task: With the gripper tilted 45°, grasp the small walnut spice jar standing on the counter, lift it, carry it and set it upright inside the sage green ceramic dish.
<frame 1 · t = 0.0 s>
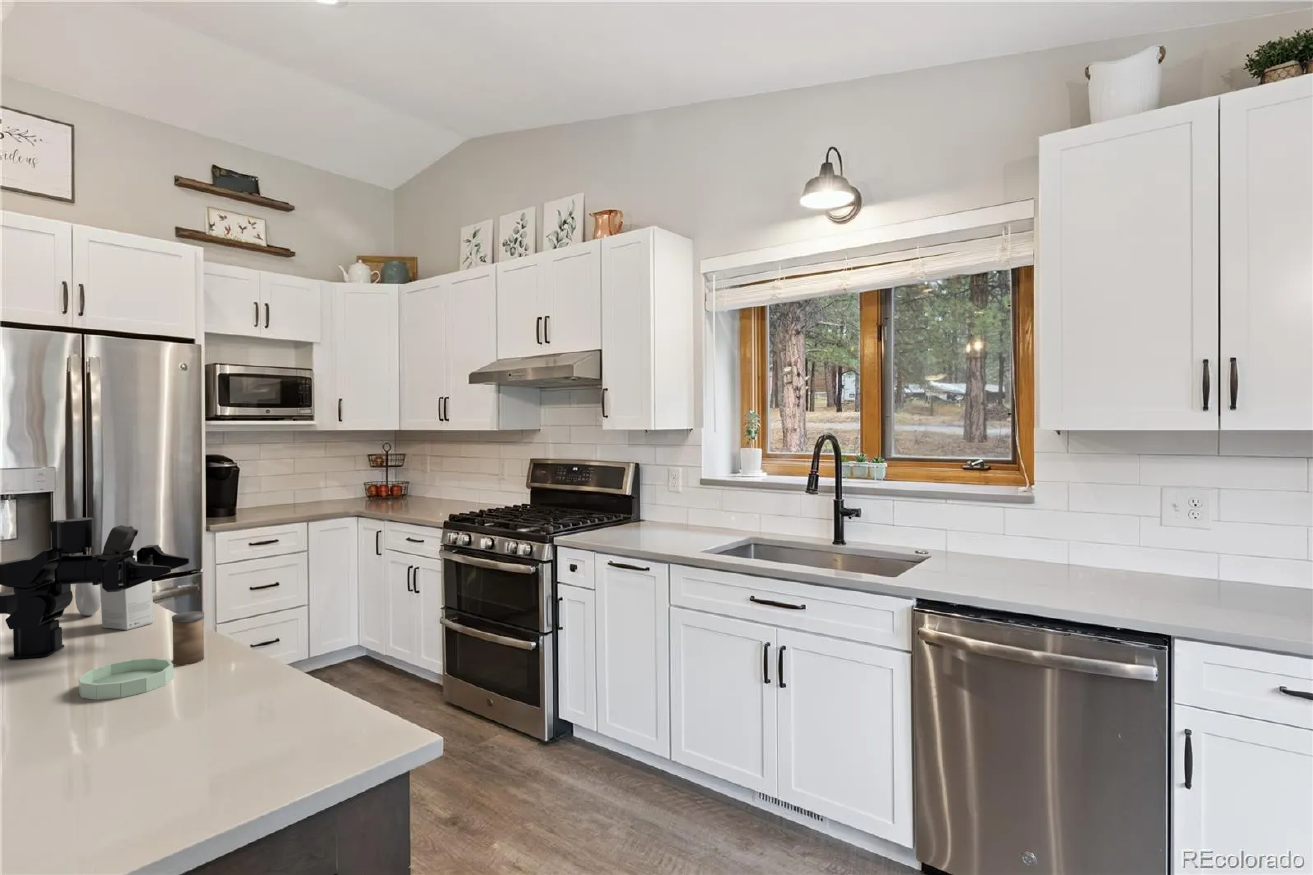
hand: (180, 565, 146), 17 cm above the counter, tool horizontal, fingers open, 9 cm apart
skincare box: (126, 626, 160), on the counter
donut: (88, 616, 168), on the counter
sage green dish: (127, 684, 124), on the counter
walnut spice jar: (188, 660, 136), on the counter
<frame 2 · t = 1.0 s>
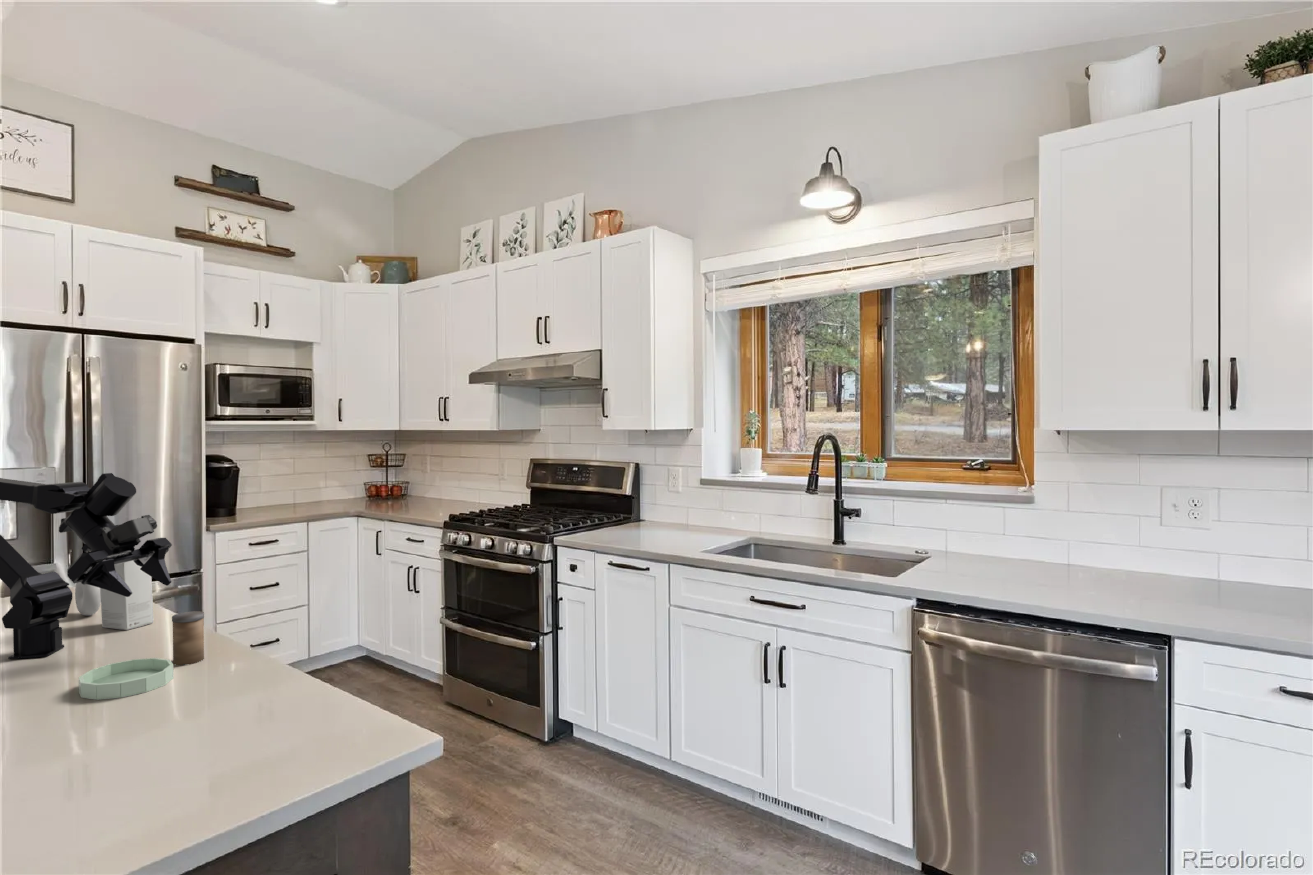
hand: (150, 589, 137), 14 cm above the counter, tool tilted 45°, fingers open, 9 cm apart
nothing on the counter moved.
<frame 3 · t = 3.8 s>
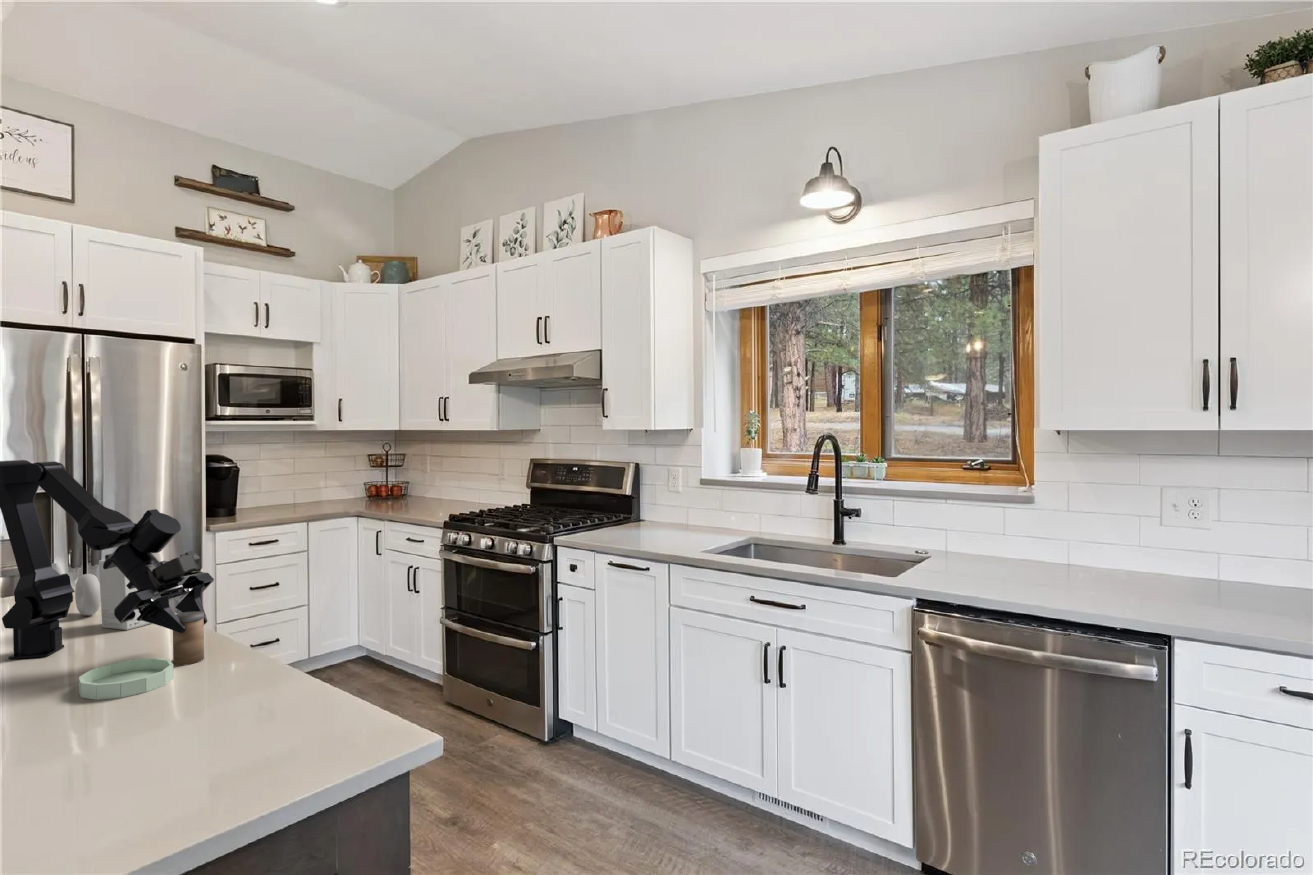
hand: (194, 627, 136), 7 cm above the counter, tool tilted 45°, fingers closed on walnut spice jar, 5 cm apart
walnut spice jar: (188, 660, 136), on the counter, touching gripper
everything else where it was.
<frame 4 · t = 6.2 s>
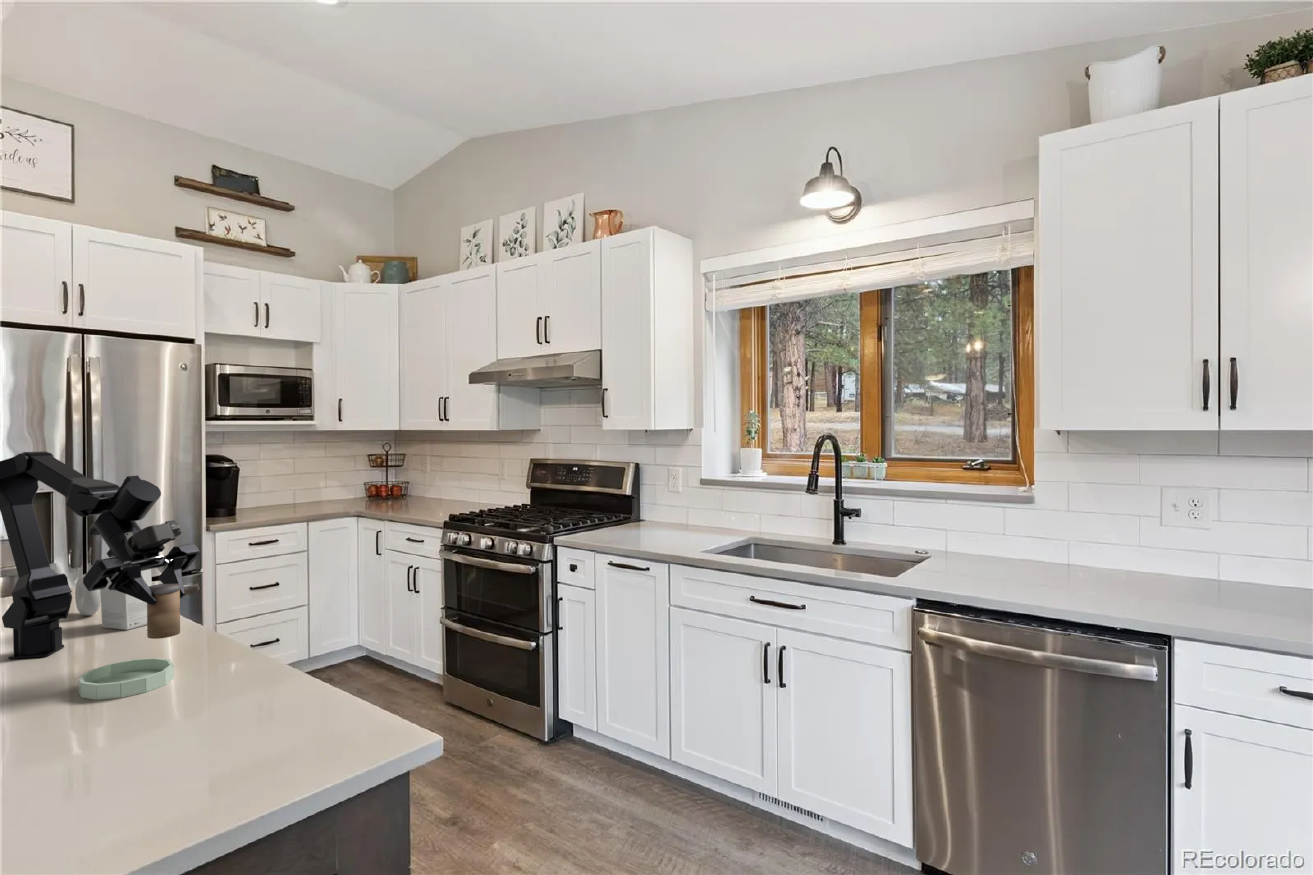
hand: (169, 599, 130), 14 cm above the counter, tool tilted 45°, fingers closed on walnut spice jar, 5 cm apart
walnut spice jar: (163, 634, 130), point 7 cm above the counter, touching gripper
everything else where it was.
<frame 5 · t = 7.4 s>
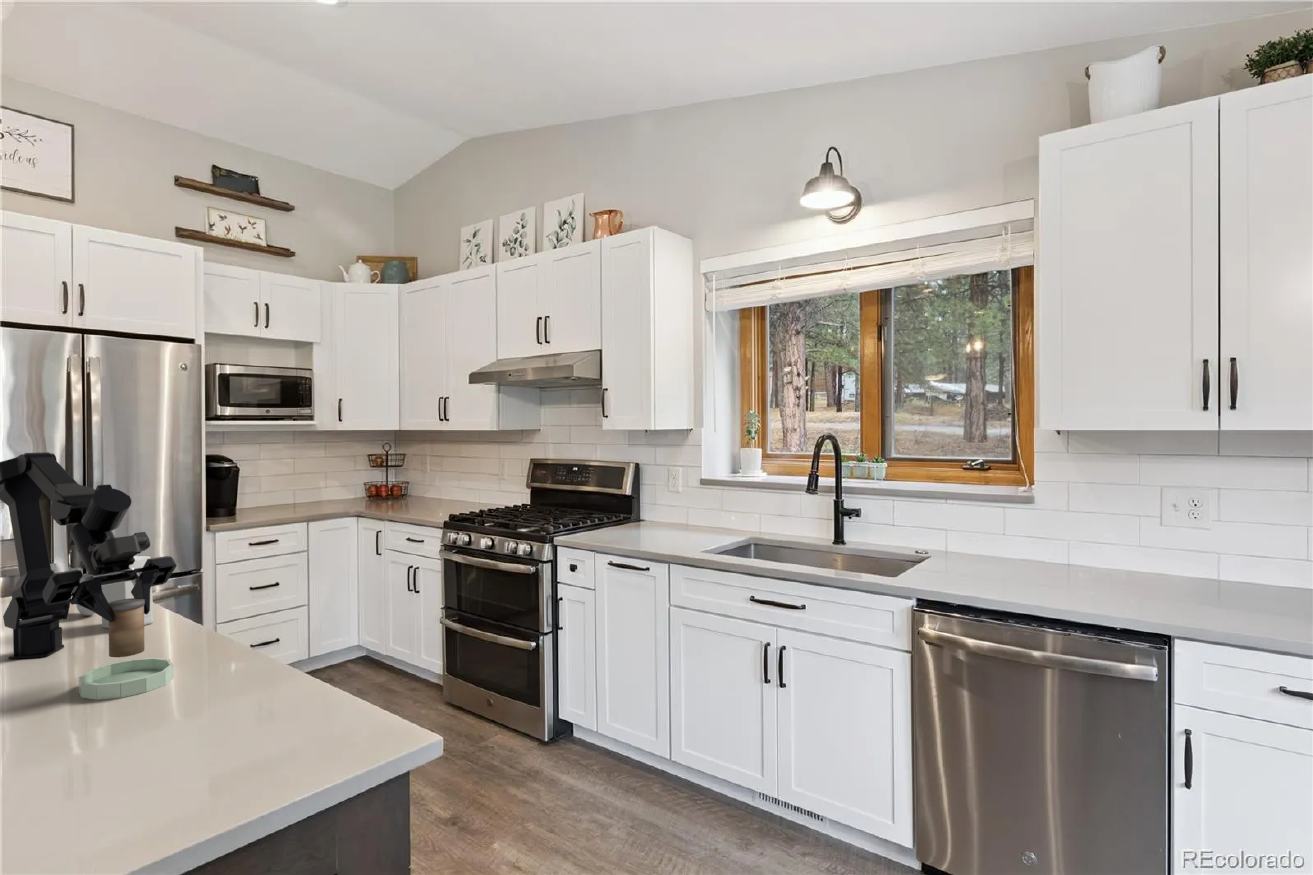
hand: (130, 616, 123), 12 cm above the counter, tool tilted 45°, fingers closed on walnut spice jar, 5 cm apart
walnut spice jar: (126, 652, 124), point 6 cm above the counter, touching gripper
everything else where it was.
when the fingers open (8 cm above the counter, at t = 8.6 s): walnut spice jar drops 1 cm, resting on sage green dish.
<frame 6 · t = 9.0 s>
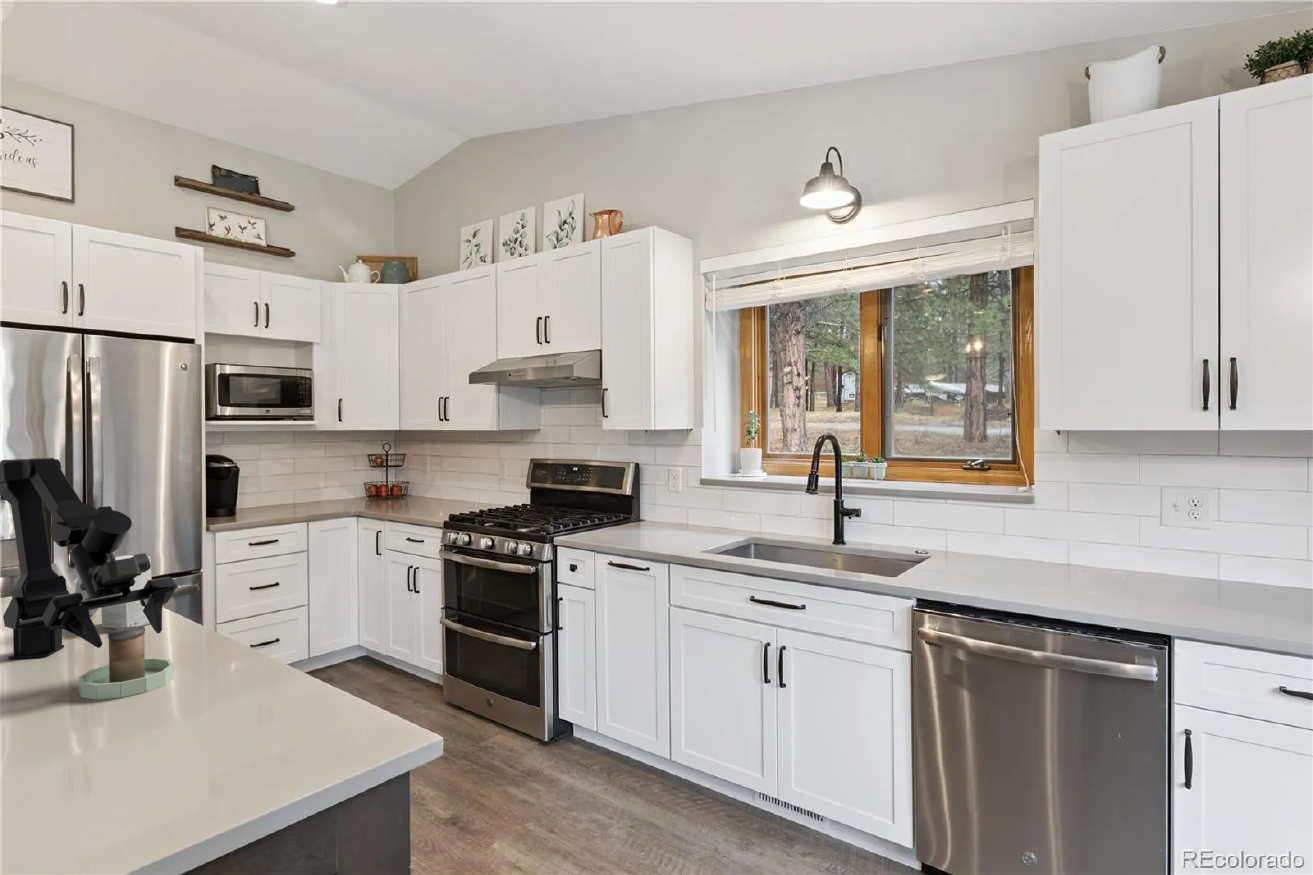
hand: (131, 638, 123), 8 cm above the counter, tool tilted 45°, fingers open, 9 cm apart
walnut spice jar: (127, 681, 124), point 1 cm above the counter, touching sage green dish
everything else where it was.
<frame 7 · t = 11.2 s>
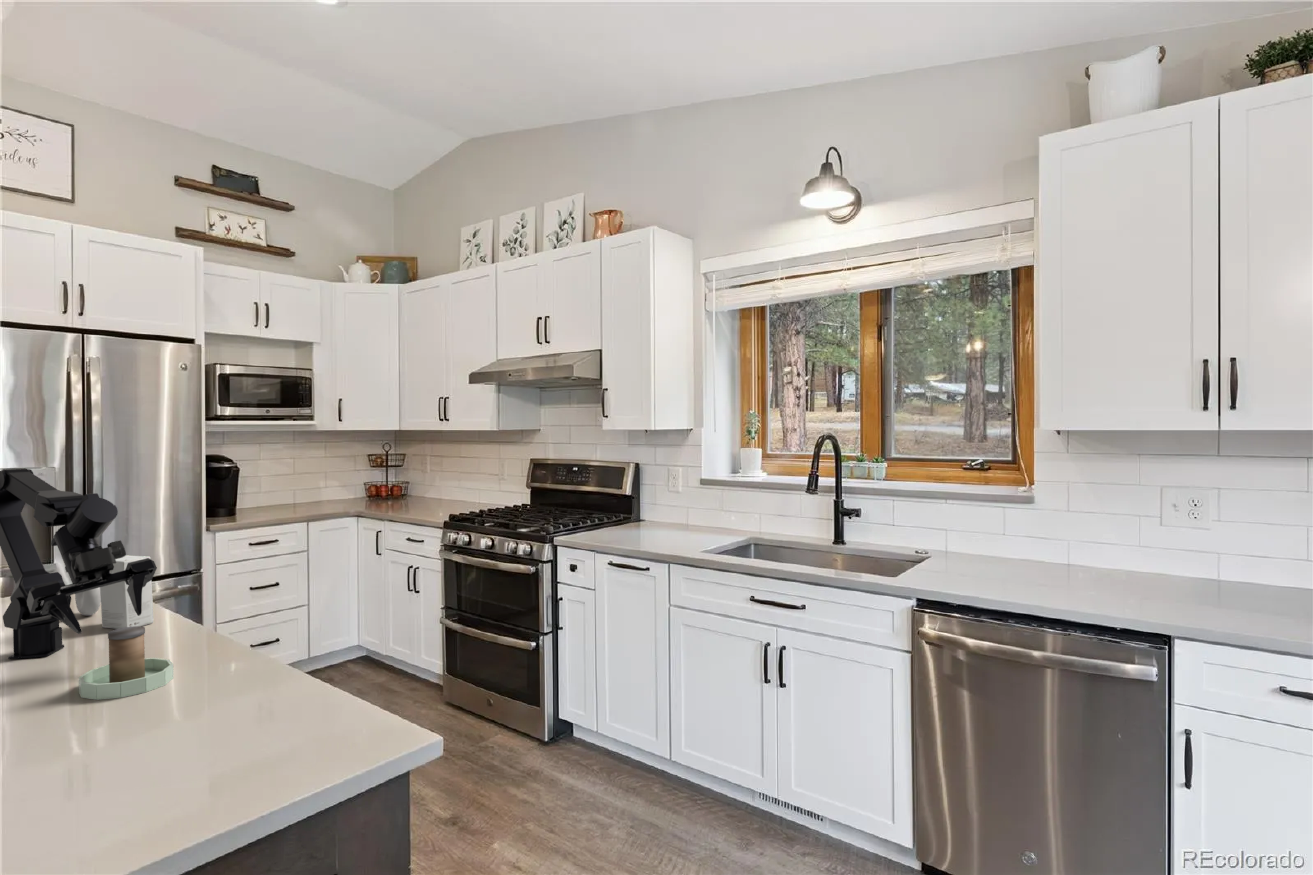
hand: (110, 623, 129), 9 cm above the counter, tool tilted 40°, fingers open, 9 cm apart
nothing on the counter moved.
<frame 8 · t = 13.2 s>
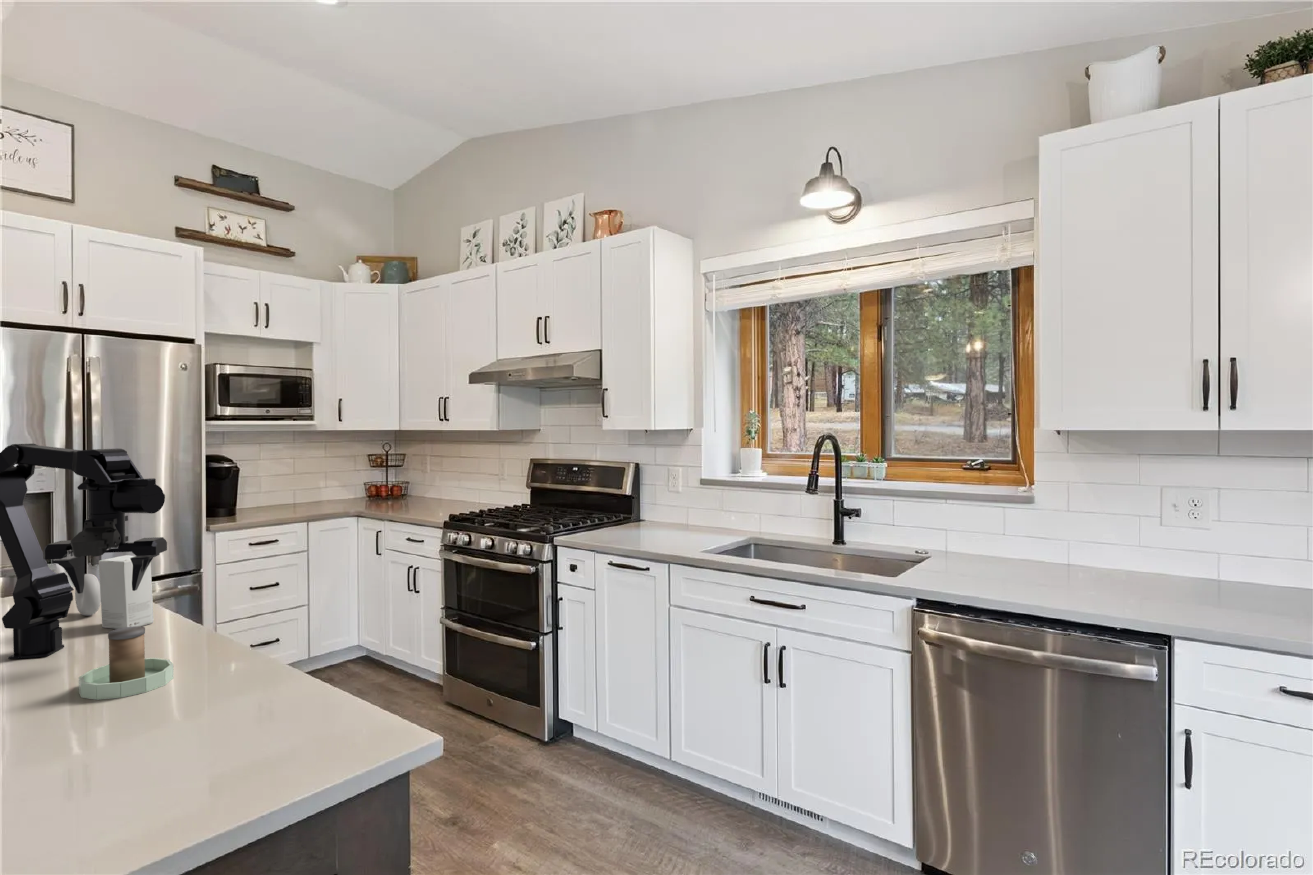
hand: (107, 591, 138), 13 cm above the counter, tool pointing down, fingers open, 9 cm apart
nothing on the counter moved.
at the end: walnut spice jar inside the target area on the sage green dish (0.0 cm from its centre), point 0.6 cm above the sage green dish's base; walnut spice jar tilted 0°; the gripper is holding nothing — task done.
